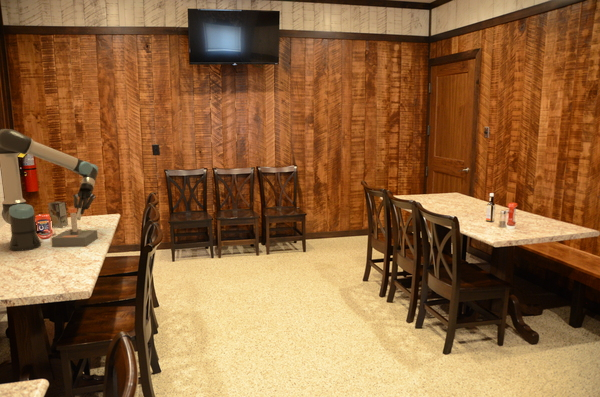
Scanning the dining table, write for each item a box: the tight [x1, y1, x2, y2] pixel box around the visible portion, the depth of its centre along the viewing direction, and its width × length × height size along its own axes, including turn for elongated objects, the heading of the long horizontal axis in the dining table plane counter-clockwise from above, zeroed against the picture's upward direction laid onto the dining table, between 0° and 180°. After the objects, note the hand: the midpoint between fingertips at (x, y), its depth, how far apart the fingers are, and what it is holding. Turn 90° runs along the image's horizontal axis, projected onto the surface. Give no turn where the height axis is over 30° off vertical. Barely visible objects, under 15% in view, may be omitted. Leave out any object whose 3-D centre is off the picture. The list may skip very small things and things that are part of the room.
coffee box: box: [48, 201, 69, 228], centre depth 312 cm, size 9×6×16 cm
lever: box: [68, 207, 79, 233], centre depth 270 cm, size 4×3×14 cm
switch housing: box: [51, 228, 99, 248], centre depth 271 cm, size 18×18×8 cm
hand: (78, 218), depth 275 cm, fingers closed
